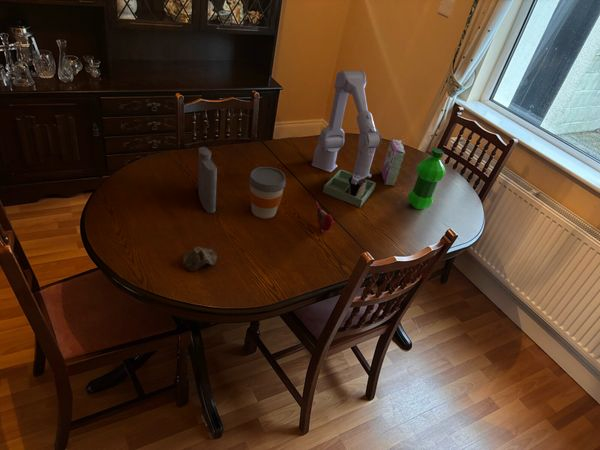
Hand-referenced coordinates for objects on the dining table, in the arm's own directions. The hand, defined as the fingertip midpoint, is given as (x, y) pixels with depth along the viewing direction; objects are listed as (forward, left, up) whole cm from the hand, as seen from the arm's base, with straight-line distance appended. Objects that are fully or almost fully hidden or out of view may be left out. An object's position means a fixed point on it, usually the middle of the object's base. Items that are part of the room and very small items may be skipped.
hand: (356, 191), depth 175 cm
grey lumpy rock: (-25, -66, -3) cm, 71 cm away
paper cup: (0, 0, -2) cm, 2 cm away
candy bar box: (+6, +25, -3) cm, 26 cm away
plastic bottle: (+23, +13, -3) cm, 27 cm away
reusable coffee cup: (-24, -30, -3) cm, 39 cm away
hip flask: (-44, -38, -3) cm, 58 cm away
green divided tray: (-4, +4, -3) cm, 6 cm away
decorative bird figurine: (-3, -26, -3) cm, 26 cm away
